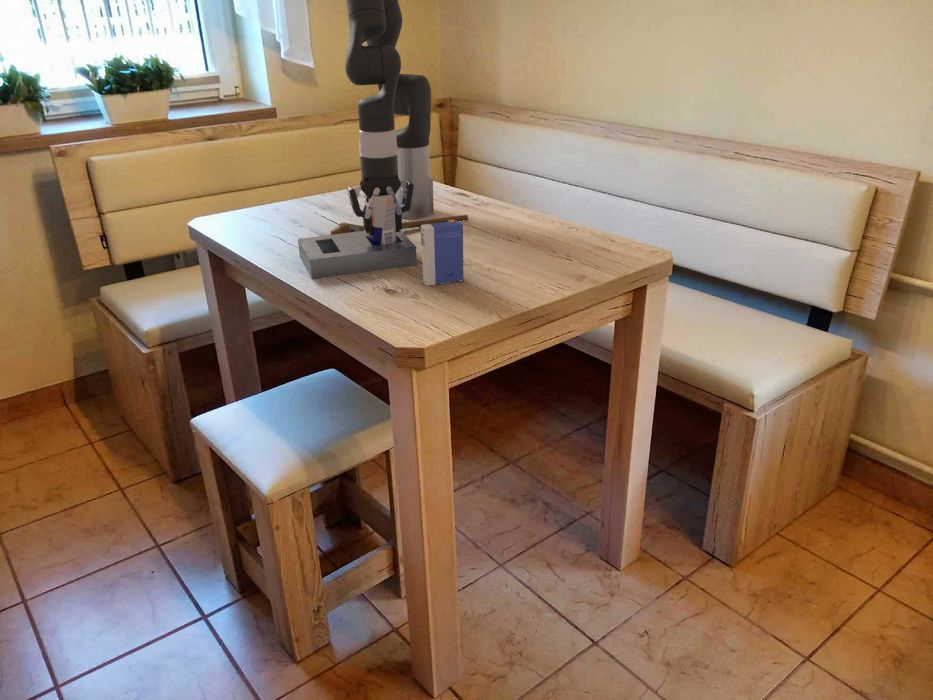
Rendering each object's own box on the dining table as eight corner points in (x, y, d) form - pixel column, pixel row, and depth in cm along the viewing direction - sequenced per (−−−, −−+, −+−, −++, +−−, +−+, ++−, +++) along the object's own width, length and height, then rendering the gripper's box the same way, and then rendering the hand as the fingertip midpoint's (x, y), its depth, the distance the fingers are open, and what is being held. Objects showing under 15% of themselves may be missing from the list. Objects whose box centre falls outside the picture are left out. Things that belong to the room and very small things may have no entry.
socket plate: (398, 244, 168) (397, 226, 167) (416, 264, 157) (416, 246, 155) (299, 256, 161) (297, 238, 160) (311, 278, 150) (309, 260, 148)
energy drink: (372, 244, 162) (368, 189, 157) (396, 243, 163) (394, 189, 157) (371, 252, 158) (367, 196, 152) (396, 252, 158) (394, 196, 152)
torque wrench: (461, 223, 187) (470, 230, 184) (328, 240, 171) (335, 248, 167) (463, 205, 185) (472, 212, 181) (327, 220, 168) (335, 228, 165)
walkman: (458, 276, 151) (458, 218, 145) (463, 281, 148) (463, 222, 143) (421, 281, 148) (419, 223, 143) (425, 286, 146) (423, 227, 140)
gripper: (407, 145, 156) (410, 224, 164) (339, 151, 152) (346, 231, 159) (418, 152, 150) (421, 234, 158) (347, 159, 145) (354, 242, 153)
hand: (383, 232), depth 159 cm, fingers closed on energy drink, 5 cm apart
